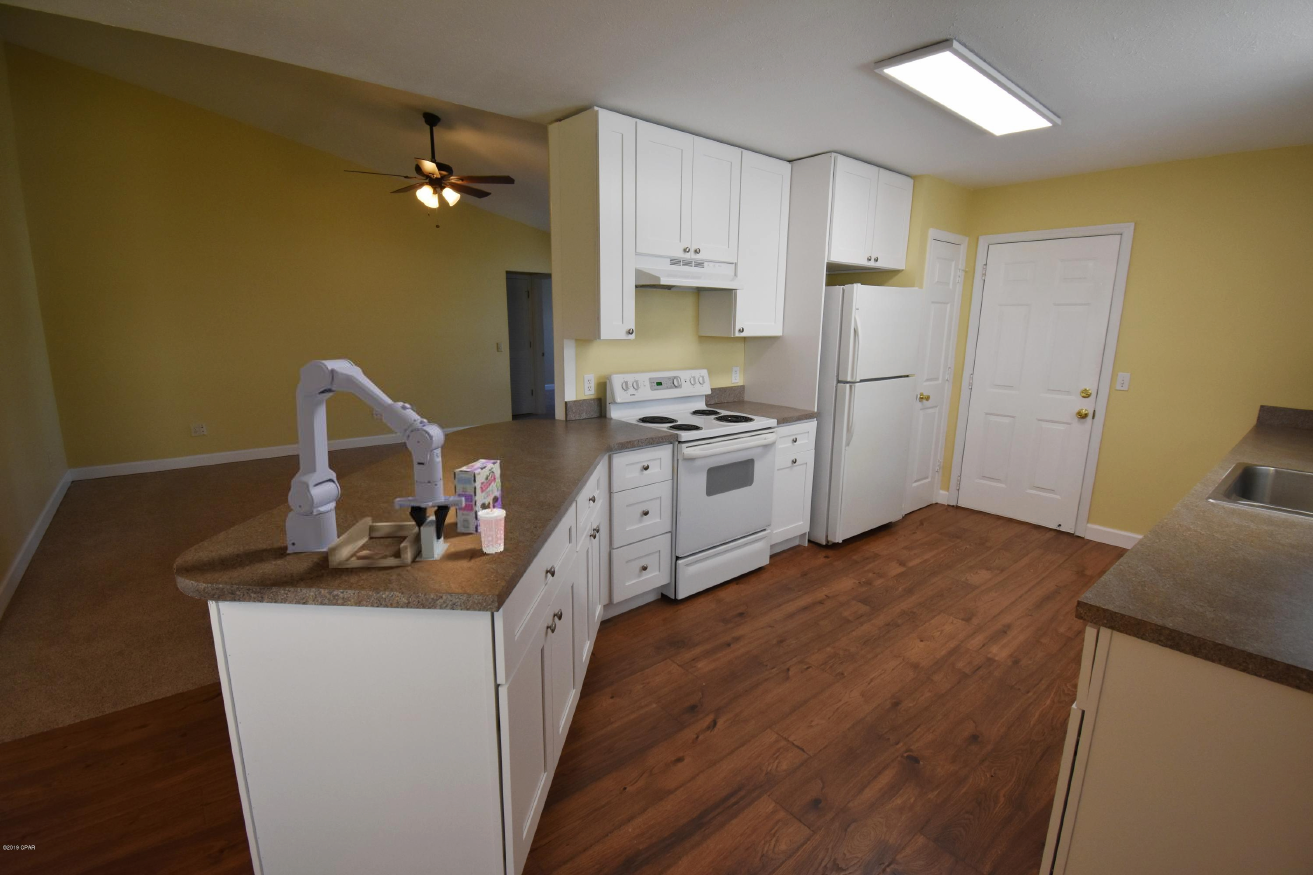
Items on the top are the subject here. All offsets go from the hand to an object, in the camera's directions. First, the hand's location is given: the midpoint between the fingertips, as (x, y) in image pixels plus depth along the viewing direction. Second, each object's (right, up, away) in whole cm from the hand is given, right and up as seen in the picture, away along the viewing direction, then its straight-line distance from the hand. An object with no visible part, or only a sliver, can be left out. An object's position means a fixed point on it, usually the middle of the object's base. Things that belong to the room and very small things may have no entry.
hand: (432, 538), depth 128 cm
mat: (0, -4, +1) cm, 4 cm away
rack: (-11, -3, +2) cm, 12 cm away
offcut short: (-12, -4, -4) cm, 13 cm away
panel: (0, -3, +1) cm, 3 cm away
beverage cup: (+13, -4, +4) cm, 14 cm away
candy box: (+5, -1, +20) cm, 20 cm away
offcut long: (-12, -5, -4) cm, 13 cm away
